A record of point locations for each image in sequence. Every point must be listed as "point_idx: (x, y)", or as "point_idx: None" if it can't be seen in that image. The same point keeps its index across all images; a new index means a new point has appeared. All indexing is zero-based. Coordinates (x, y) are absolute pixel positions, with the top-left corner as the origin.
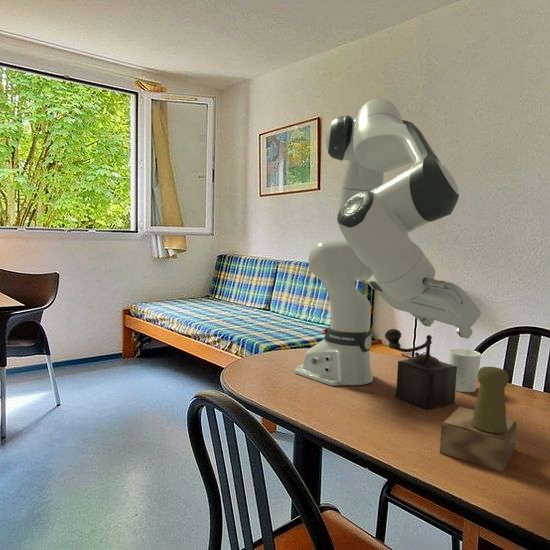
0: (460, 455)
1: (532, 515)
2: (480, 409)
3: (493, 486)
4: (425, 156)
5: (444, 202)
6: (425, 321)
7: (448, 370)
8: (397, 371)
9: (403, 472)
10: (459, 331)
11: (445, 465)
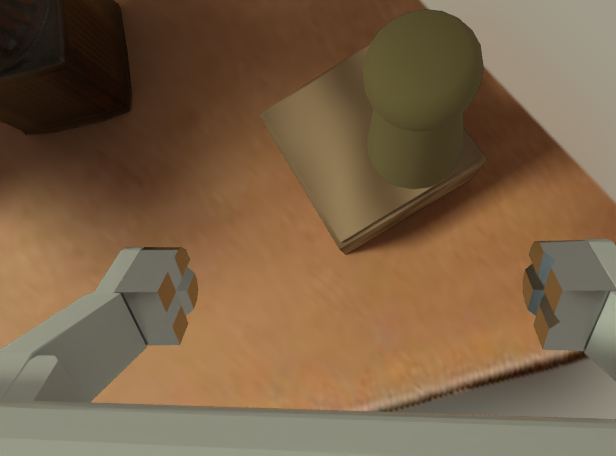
0: (388, 228)
1: None
2: (419, 165)
3: (517, 251)
4: None
5: None
6: (179, 330)
7: None
8: None
9: (398, 408)
10: (605, 366)
11: (402, 286)
